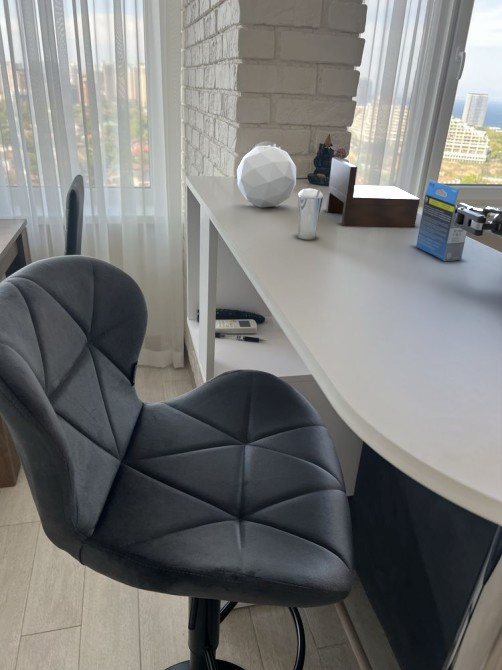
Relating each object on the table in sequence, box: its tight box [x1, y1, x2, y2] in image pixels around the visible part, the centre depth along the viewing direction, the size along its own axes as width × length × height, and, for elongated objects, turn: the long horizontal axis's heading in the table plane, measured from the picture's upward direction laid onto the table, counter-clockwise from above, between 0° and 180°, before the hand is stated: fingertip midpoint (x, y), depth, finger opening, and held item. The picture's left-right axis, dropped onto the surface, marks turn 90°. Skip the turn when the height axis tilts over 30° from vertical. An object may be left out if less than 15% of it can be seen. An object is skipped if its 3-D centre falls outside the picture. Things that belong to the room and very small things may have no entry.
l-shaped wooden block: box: [325, 157, 421, 228], centre depth 111 cm, size 16×14×12 cm
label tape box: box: [415, 179, 468, 262], centre depth 89 cm, size 9×4×12 cm, turn 16°
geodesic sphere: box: [236, 143, 297, 208], centre depth 118 cm, size 15×14×14 cm
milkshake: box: [297, 186, 324, 241], centre depth 94 cm, size 4×5×10 cm
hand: (483, 210), depth 77 cm, fingers open, 8 cm apart
